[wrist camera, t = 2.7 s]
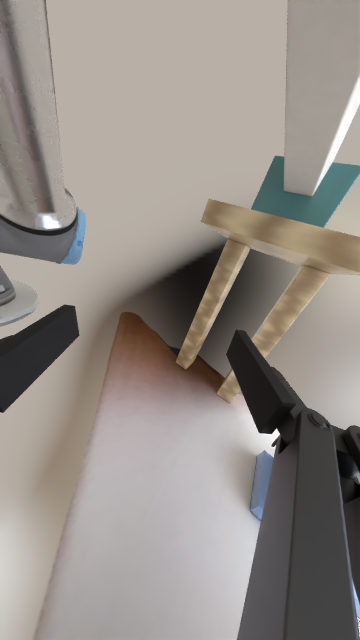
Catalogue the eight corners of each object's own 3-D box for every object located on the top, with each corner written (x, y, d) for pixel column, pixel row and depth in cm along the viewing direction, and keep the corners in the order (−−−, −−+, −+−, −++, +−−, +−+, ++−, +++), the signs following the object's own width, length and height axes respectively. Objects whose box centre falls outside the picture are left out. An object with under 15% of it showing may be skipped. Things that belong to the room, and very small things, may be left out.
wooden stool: (144, 387, 28) (208, 198, 15) (184, 354, 40) (239, 230, 27) (211, 449, 23) (394, 245, 10) (234, 391, 35) (334, 259, 21)
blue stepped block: (249, 510, 19) (268, 500, 17) (257, 455, 25) (271, 443, 23) (413, 672, 14) (466, 683, 12) (374, 554, 19) (406, 549, 17)
